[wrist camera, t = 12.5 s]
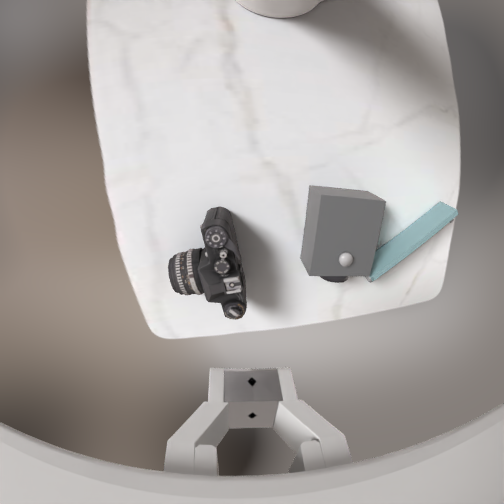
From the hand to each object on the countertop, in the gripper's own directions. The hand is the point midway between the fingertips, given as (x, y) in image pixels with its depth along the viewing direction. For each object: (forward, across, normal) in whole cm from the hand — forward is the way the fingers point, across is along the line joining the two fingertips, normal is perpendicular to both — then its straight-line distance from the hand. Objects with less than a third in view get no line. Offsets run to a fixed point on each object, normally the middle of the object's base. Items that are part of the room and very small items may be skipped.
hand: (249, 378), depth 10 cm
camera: (+34, +4, +10) cm, 36 cm away
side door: (+34, -30, +6) cm, 45 cm away
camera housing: (+34, -16, +5) cm, 38 cm away
